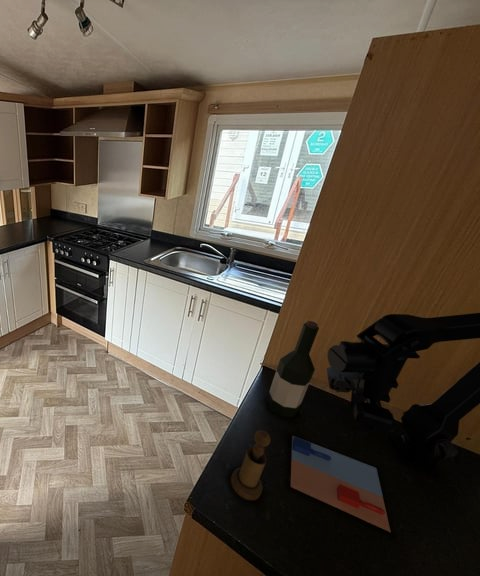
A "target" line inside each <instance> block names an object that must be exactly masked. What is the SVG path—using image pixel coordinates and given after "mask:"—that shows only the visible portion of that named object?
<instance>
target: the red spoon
mask: <svg viewBox="0 0 480 576" xmlns="http://www.w3.org/2000/svg"><path fill="white" fill-rule="evenodd" d="M337 495H338V500H339V501H341V502H344V503H346V504H348V505H350V506H353V507H355V508H357V509H358V508H359V506H360V505H361V506H363V507H365V508H367V509H370V510H372V511H374V512H377V513H379V514H381V515H384V514H385V511H384V510H383V509H382V508H380V507H377V506H375V505H373V504H370V503H368V502H366V501H363V500H361V499H360V496H359V492H358V491H355V490H353V489H350V488H348V487H346V486H343V485H341V484H339V486H338V487H337Z"/></svg>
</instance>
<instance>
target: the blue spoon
mask: <svg viewBox="0 0 480 576" xmlns="http://www.w3.org/2000/svg"><path fill="white" fill-rule="evenodd" d="M297 437H298V436H295V438H294V440H293V450H294V451H297V452H299V453H301V454H304V455H306V456H309V455H310V453H311V454H313V455H316V456H318V457H321V458H323V459H326V460H328V461H330V460H331V457H330V456H329V455H326V454H324V453H321V452H319V451H316V450H314V449H311V443H312V442H310V441H308V440H305V439H303V438H300V437H298V438H297ZM299 438H300V439H299ZM302 439H303V440H302ZM307 441H308V442H307Z"/></svg>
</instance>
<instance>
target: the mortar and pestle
mask: <svg viewBox="0 0 480 576" xmlns="http://www.w3.org/2000/svg"><path fill="white" fill-rule="evenodd" d="M253 436H254V437H253V438H254V441H255V443H254V444H253V445H252V447H249V448H248V449H247V450H246V452H245V456H244V458H243V462H242V465H241V467H237V468H235V469H234V470H233V471H232V474H231V476H230V485H231V487H232V489H233V491H234V492H235V493H236V494H237V495H238V496H240V497H241V498H242V499H244V500H248V501H256V500H258V499H260V497H261V495H262V492H263V488H264V486H263V482H262V479H261V476H262V474H263V471H264V468H265V466H266V464H267V461H268V459H267V456H266V454H265V452H266V449H265V447H268V446H269V445H270V443H271V441H272V440H271V436H270V434H269V433H268V432H267V431H265V430H261V429H259V430H257V431H256V432H255V433H254V435H253Z"/></svg>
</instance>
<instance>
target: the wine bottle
mask: <svg viewBox="0 0 480 576" xmlns="http://www.w3.org/2000/svg"><path fill="white" fill-rule="evenodd" d="M319 329H320V327H319V324H318V323H317V322H315V321H312V320H307V321H306V322H305V323H304V324H303V325H302V328H301V331H300V333H299V336H298V339H297V341H296V343H295V344H296V345H295V347H294V349H293V350H291V351H290V352H288V353H287V354H285V355H284V356H282V357H281V358H279V362H278V364H277V367H276V371H275V373H274V376H273V379H272V382H271V385H270V388H269V392H268V395H267V397H266V400H265V403H266V404H267V406H268V409H269V410H271V411H272V412H274V413H275V414H277V415H279V416H281V417H288V418H293V417H294V416H295V415H296V414H297V413H298V412H299V410H300V408H301V405H302V402H303V400H304V398H305V395H306V392H307V390H308V388H309V385H310V383H311V380H312V378H313V376H314V373H315V371H316V368H315V366H314V363H313V361H312V358H311V355H310V353H311V350H312V348H313V345H314V343H315V341H316V340H315V339H316V337H317V335H318V333H319Z"/></svg>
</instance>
